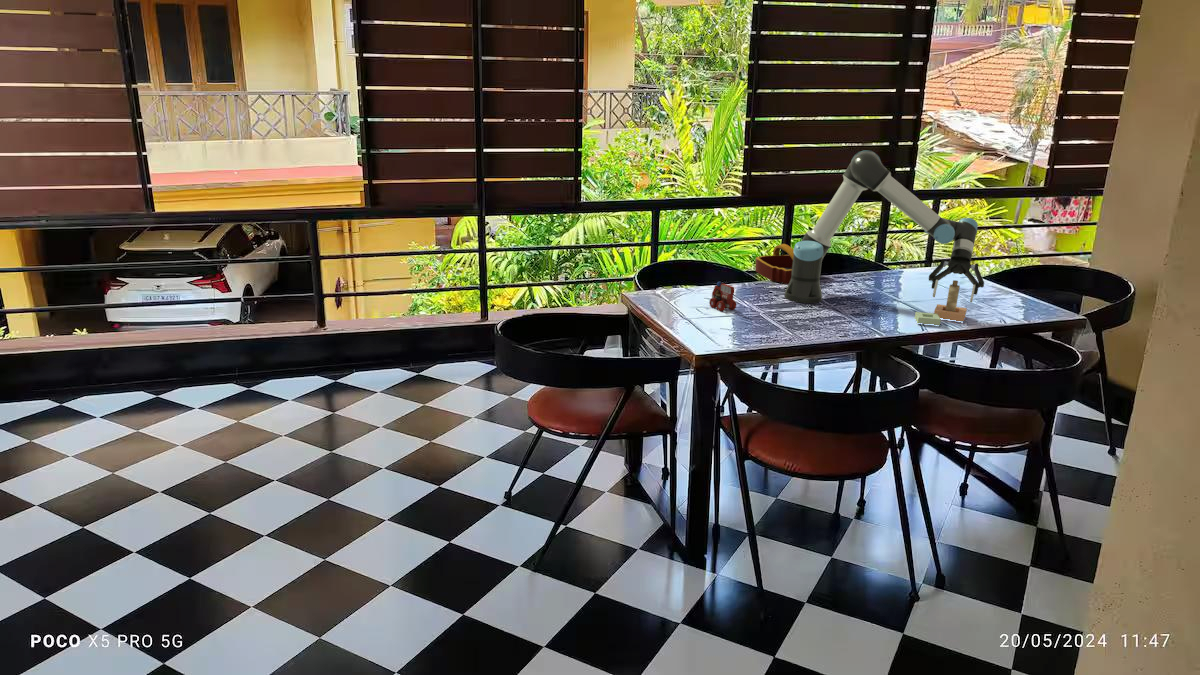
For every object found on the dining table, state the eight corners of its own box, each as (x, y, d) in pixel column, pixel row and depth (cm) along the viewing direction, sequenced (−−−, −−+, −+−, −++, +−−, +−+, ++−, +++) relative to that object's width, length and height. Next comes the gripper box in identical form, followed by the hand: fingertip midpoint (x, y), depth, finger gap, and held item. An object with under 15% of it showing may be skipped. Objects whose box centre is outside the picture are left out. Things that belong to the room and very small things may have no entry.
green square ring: (917, 325, 320) (918, 317, 319) (914, 319, 328) (915, 311, 327) (939, 327, 319) (940, 319, 318) (935, 321, 326) (937, 313, 325)
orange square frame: (933, 319, 329) (934, 310, 328) (935, 312, 338) (937, 304, 337) (963, 323, 324) (964, 314, 323) (965, 316, 334) (966, 308, 333)
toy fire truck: (720, 303, 339) (722, 278, 336) (738, 311, 329) (740, 286, 326) (705, 305, 336) (707, 280, 333) (723, 313, 326) (726, 287, 323)
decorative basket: (747, 271, 407) (746, 241, 402) (806, 263, 409) (805, 233, 404) (767, 290, 375) (765, 257, 370) (830, 281, 377) (830, 249, 372)
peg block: (944, 318, 331) (950, 281, 326) (945, 316, 334) (951, 279, 329) (953, 319, 329) (960, 282, 325) (954, 317, 332) (960, 280, 328)
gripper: (995, 262, 333) (986, 307, 325) (928, 254, 343) (918, 298, 335) (997, 251, 327) (988, 297, 319) (929, 244, 337) (918, 288, 329)
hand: (952, 297), depth 327 cm, fingers open, 13 cm apart
